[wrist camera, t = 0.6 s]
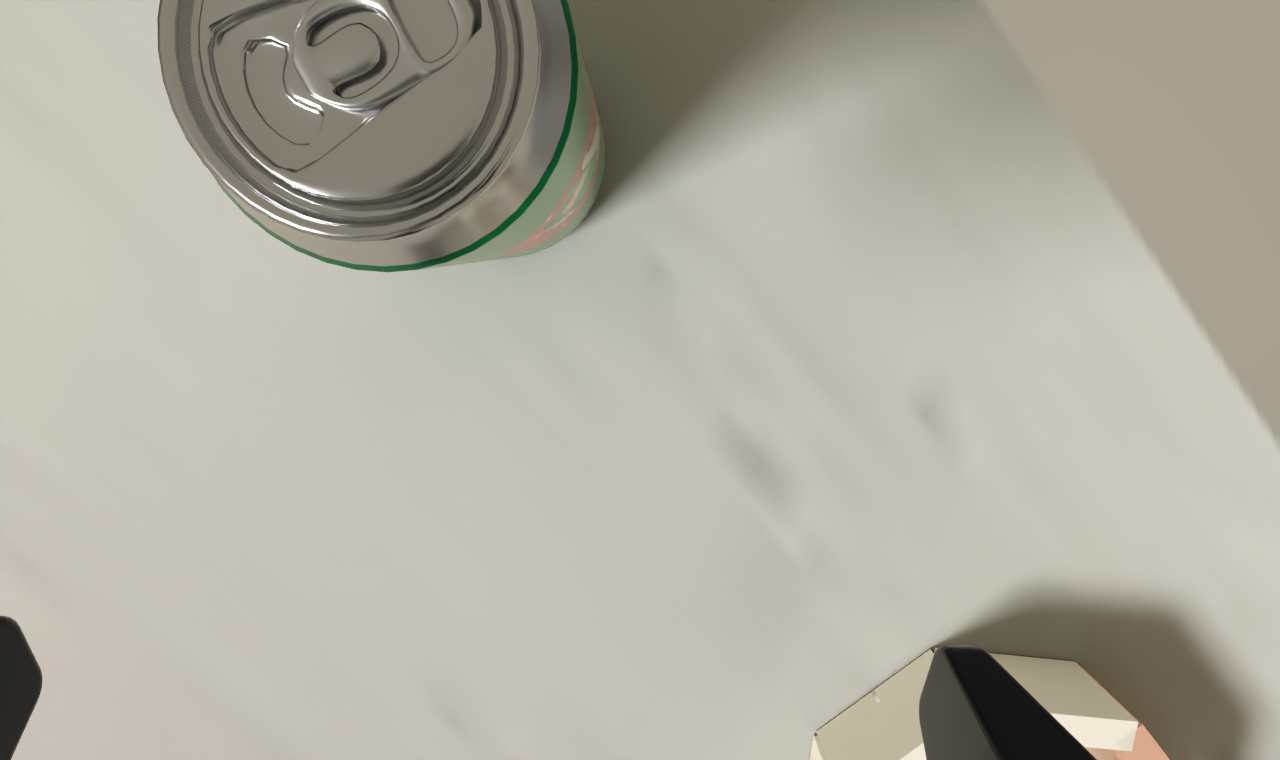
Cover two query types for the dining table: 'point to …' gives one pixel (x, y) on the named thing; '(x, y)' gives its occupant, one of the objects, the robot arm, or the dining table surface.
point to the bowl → (1125, 751)
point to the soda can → (390, 123)
